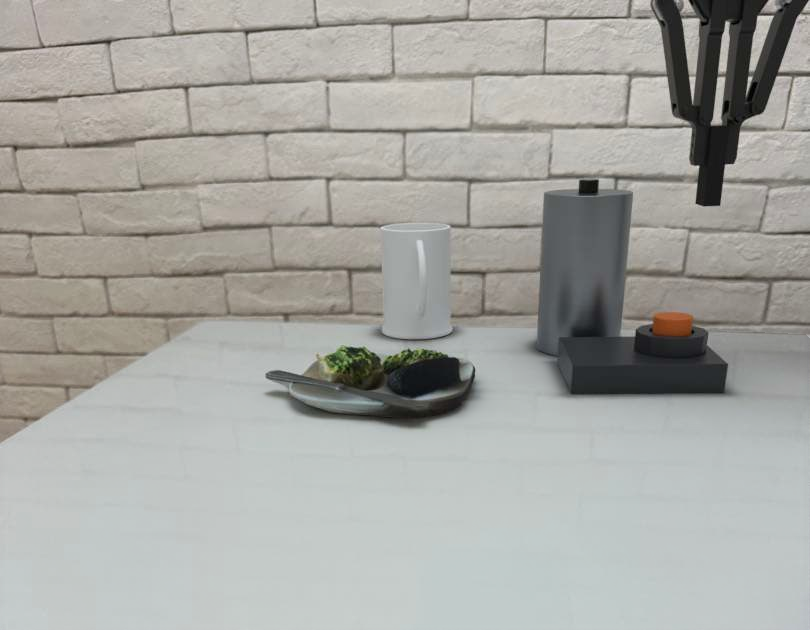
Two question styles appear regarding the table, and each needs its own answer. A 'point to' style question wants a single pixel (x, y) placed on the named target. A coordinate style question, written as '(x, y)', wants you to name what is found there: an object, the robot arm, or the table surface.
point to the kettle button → (672, 324)
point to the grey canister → (582, 263)
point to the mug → (416, 280)
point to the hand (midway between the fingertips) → (707, 204)
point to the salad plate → (382, 382)
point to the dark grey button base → (642, 363)
